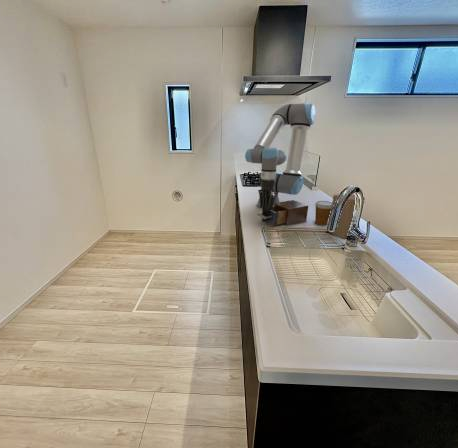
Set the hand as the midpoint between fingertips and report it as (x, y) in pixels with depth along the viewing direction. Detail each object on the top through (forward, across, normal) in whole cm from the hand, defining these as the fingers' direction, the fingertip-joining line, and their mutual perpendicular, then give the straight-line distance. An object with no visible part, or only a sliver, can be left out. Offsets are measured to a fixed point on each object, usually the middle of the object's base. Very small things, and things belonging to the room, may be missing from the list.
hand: (264, 221), depth 133 cm
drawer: (+2, 0, +6) cm, 6 cm away
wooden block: (+3, +27, +29) cm, 40 cm away
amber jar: (+3, +12, +31) cm, 33 cm away
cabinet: (+2, 0, +18) cm, 18 cm away
